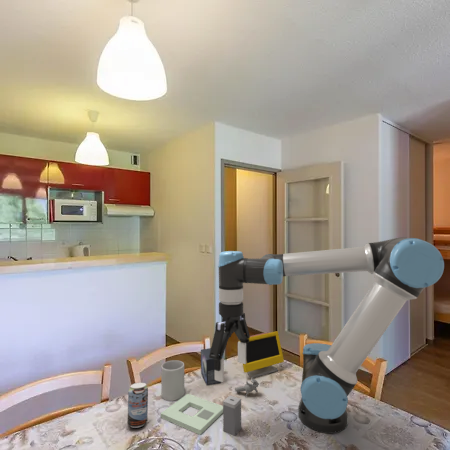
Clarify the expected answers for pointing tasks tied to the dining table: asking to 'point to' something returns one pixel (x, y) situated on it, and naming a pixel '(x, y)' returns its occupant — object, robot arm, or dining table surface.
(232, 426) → the block
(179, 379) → the mug
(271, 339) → the toy computer monitor
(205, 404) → the outlet plate
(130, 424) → the beverage can
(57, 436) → the dining table surface
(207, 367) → the small box
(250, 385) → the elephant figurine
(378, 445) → the dining table surface
